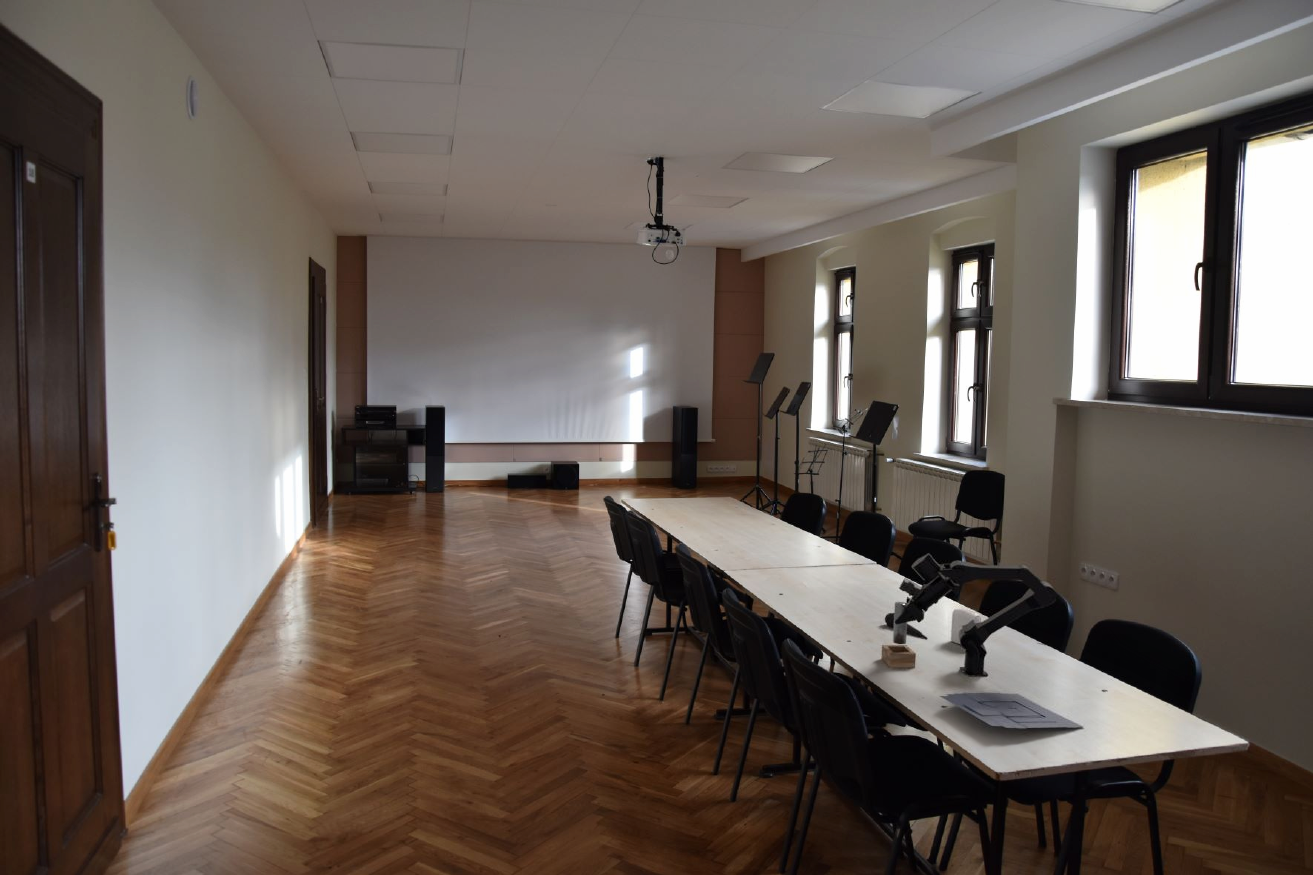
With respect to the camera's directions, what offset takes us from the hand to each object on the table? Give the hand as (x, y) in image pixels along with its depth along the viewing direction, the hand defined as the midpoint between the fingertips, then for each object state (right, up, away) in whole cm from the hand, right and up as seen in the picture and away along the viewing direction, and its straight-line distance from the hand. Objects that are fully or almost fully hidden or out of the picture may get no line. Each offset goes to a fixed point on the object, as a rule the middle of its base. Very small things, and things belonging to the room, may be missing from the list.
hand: (896, 621), depth 275 cm
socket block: (+1, -13, +1) cm, 13 cm away
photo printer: (+29, -13, +21) cm, 38 cm away
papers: (+19, -18, -39) cm, 47 cm away
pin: (+1, -7, 0) cm, 7 cm away
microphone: (+12, -11, +33) cm, 37 cm away
